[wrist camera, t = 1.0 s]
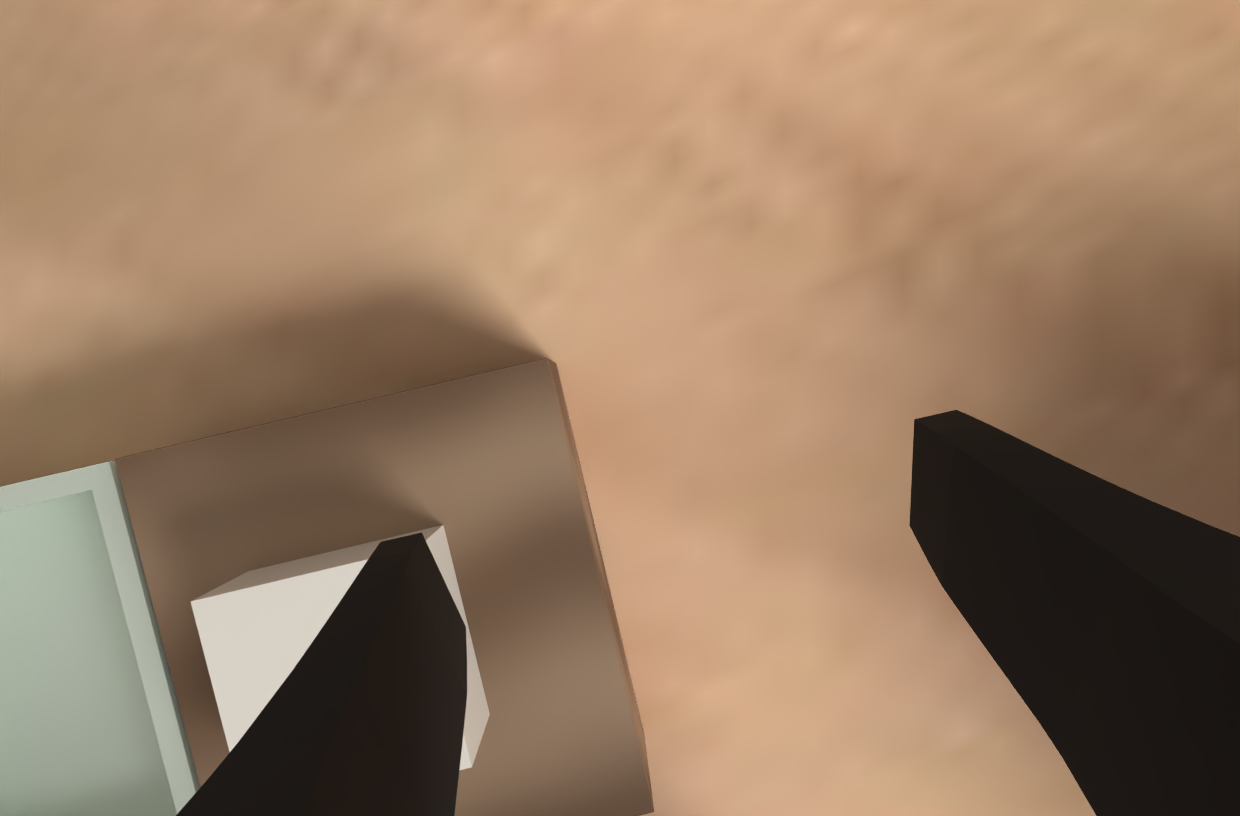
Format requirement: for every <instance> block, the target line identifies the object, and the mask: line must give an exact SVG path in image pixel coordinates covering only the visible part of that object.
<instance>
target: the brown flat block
mask: <svg viewBox="0 0 1240 816" xmlns="http://www.w3.org/2000/svg"><path fill="white" fill-rule="evenodd" d="M115 461H116V465H117V469H118V473H119V477H120V480H121V484H122V488H123V492H124V496H125V500H126V503H127V507H128V511H129V515H130V519H131V523H132V526H133V530H134V534H135V538H136V542H137V545H138V549H139V553H140V557H141V561H142V565H143V568H144V572H145V576H146V580H147V584H148V588H149V591H150V595H151V599H152V603H153V607H154V611H155V614H156V618H157V622H158V626H159V630H160V633H161V637H162V641H163V645H164V649H165V653H166V656H167V660H168V664H169V668H170V672H171V676H172V679H173V683H174V687H175V691H176V695H177V699H178V702H179V706H180V710H181V714H182V718H183V721H184V725H185V729H186V733H187V737H188V741H189V744H190V748H191V752H192V756H193V760H194V764H195V767H196V771H197V775H198V779H199V783H200V787H201V786H202V785H203V784H204V783H205V782H206V781H207V779H208V778H209V777H210V776H211V775H212V773H213V772H214V771H215V770H216V769H217V767H218V766H219V765H220V764H221V763H222V761H223V760H224V759H225V758H226V756H227V755H228V754H229V753H230V752H229V748H228V744H227V740H226V737H225V733H224V729H223V725H222V721H221V717H220V713H219V710H218V706H217V702H216V698H215V694H214V690H213V686H212V683H211V679H210V675H209V671H208V667H207V663H206V659H205V656H204V652H203V648H202V644H201V640H200V636H199V633H198V629H197V625H196V621H195V617H194V613H193V609H192V606H191V601H192V600H194V599H196V598H198V597H200V596H202V595H204V594H206V593H208V592H210V591H212V590H213V589H215V588H217V587H219V586H221V585H223V584H225V583H227V582H229V581H231V580H233V579H234V578H236V577H238V576H240V575H242V574H244V573H246V572H248V571H251V570H255V569H260V568H264V567H268V566H272V565H276V564H281V563H285V562H289V561H293V560H297V559H302V558H306V557H310V556H314V555H318V554H323V553H327V552H331V551H335V550H340V549H344V548H348V547H352V546H356V545H361V544H365V543H369V542H373V541H377V540H382V539H386V538H390V537H394V536H398V535H403V534H407V533H411V532H415V531H419V530H424V529H428V528H432V527H436V526H441V525H444V530H445V534H446V538H447V542H448V546H449V550H450V554H451V558H452V562H453V566H454V570H455V574H456V578H457V583H458V587H459V591H460V595H461V599H462V603H463V607H464V611H465V615H466V619H467V623H468V627H469V632H470V636H471V640H472V644H473V648H474V652H475V656H476V660H477V664H478V668H479V672H480V676H481V680H482V685H483V689H484V693H485V697H486V701H487V705H488V709H489V713H490V715H489V718H488V721H487V724H486V727H485V730H484V733H483V736H482V739H481V742H480V745H479V748H478V751H477V754H476V757H475V760H474V763H473V766H472V767H471V768H467V769H463V770H459V778H458V787H457V796H456V806H455V815H454V816H639V815H643V814H647V813H651V812H654V807H653V799H652V791H651V784H650V776H649V768H648V760H647V752H646V745H645V737H644V732H643V728H642V723H641V719H640V715H639V711H638V706H637V702H636V698H635V694H634V690H633V685H632V681H631V677H630V673H629V669H628V664H627V660H626V656H625V652H624V647H623V643H622V639H621V635H620V631H619V626H618V622H617V618H616V614H615V610H614V605H613V601H612V597H611V593H610V588H609V584H608V580H607V576H606V572H605V567H604V563H603V559H602V555H601V550H600V546H599V542H598V538H597V534H596V529H595V525H594V521H593V517H592V513H591V508H590V504H589V500H588V496H587V491H586V487H585V483H584V479H583V475H582V470H581V466H580V462H579V458H578V454H577V449H576V445H575V441H574V437H573V432H572V428H571V424H570V420H569V416H568V411H567V407H566V403H565V399H564V395H563V390H562V386H561V382H560V378H559V373H558V369H557V365H556V363H554V362H552V361H550V360H549V359H547V358H545V359H541V360H537V361H532V362H528V363H524V364H520V365H515V366H511V367H507V368H502V369H498V370H494V371H490V372H485V373H481V374H477V375H472V376H468V377H464V378H460V379H455V380H451V381H447V382H442V383H438V384H434V385H429V386H425V387H421V388H417V389H412V390H408V391H404V392H399V393H395V394H391V395H387V396H382V397H378V398H374V399H369V400H365V401H361V402H357V403H352V404H348V405H344V406H339V407H335V408H331V409H327V410H322V411H318V412H314V413H309V414H305V415H301V416H297V417H292V418H288V419H284V420H279V421H275V422H271V423H266V424H262V425H258V426H254V427H249V428H245V429H241V430H236V431H232V432H228V433H224V434H219V435H215V436H211V437H206V438H202V439H198V440H194V441H189V442H185V443H181V444H176V445H172V446H168V447H164V448H159V449H155V450H151V451H146V452H142V453H138V454H134V455H129V456H125V457H121V458H116V459H115Z"/></svg>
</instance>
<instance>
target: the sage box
mask: <svg viewBox="0 0 1240 816" xmlns="http://www.w3.org/2000/svg"><path fill="white" fill-rule="evenodd" d="M199 789H200V783H199V779H198V775H197V771H196V767H195V764H194V760H193V756H192V752H191V748H190V744H189V741H188V737H187V733H186V729H185V725H184V721H183V718H182V714H181V710H180V706H179V702H178V699H177V695H176V691H175V687H174V683H173V679H172V676H171V672H170V668H169V664H168V660H167V656H166V653H165V649H164V645H163V641H162V637H161V633H160V630H159V626H158V622H157V618H156V614H155V611H154V607H153V603H152V599H151V595H150V591H149V588H148V584H147V580H146V576H145V572H144V568H143V565H142V561H141V557H140V553H139V549H138V545H137V542H136V538H135V534H134V530H133V526H132V523H131V519H130V515H129V511H128V507H127V503H126V500H125V496H124V492H123V488H122V484H121V480H120V477H119V473H118V469H117V465H116V461H108V462H104V463H100V464H96V465H91V466H87V467H83V468H78V469H74V470H70V471H66V472H61V473H57V474H53V475H48V476H44V477H40V478H36V479H31V480H27V481H23V482H18V483H14V484H10V485H6V486H1V487H0V816H176V815H177V814H178V813H179V811H180V810H181V809H182V808H183V807H184V806H185V805H186V803H187V802H188V801H189V800H190V799H191V798H192V797H193V795H194V794H195V793H196V792H197V791H198V790H199Z"/></svg>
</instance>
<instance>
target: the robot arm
mask: <svg viewBox="0 0 1240 816" xmlns="http://www.w3.org/2000/svg"><path fill="white" fill-rule="evenodd" d="M910 527H911V529H912V531H913V533H914V535H915V537H916V539H917V541H918V542H919V544H920V546H921V548H922V550H923V552H924V554H925V556H926V558H927V560H928V562H929V563H930V565H931V567H932V569H933V571H934V572H935V574H936V576H937V578H938V580H939V581H940V583H941V585H942V587H943V588H944V589H945V591H946V592H947V594H948V595H949V597H950V598H951V600H952V601H953V602H954V604H955V605H956V607H957V608H958V610H959V611H960V612H961V614H962V615H963V617H964V618H965V619H966V621H967V622H968V624H969V625H970V627H971V628H972V629H973V631H974V632H975V634H976V635H977V636H978V638H979V639H980V641H981V642H982V643H983V645H984V646H985V647H986V649H987V650H988V652H989V653H990V654H991V656H992V657H993V659H994V660H995V661H996V663H997V664H998V666H999V667H1000V668H1001V670H1002V671H1003V673H1004V674H1005V675H1006V677H1007V678H1008V679H1009V681H1010V682H1011V684H1012V685H1013V686H1014V688H1015V689H1016V691H1017V692H1018V693H1019V695H1020V696H1021V698H1022V699H1023V700H1024V702H1025V703H1026V705H1027V706H1028V707H1029V709H1030V710H1031V711H1032V713H1033V714H1034V716H1035V717H1036V718H1037V720H1038V721H1039V723H1040V724H1041V726H1042V727H1043V729H1044V730H1045V732H1046V733H1047V735H1048V736H1049V738H1050V739H1051V741H1052V742H1053V744H1054V745H1055V747H1056V748H1057V750H1058V751H1059V753H1060V754H1061V756H1062V758H1063V759H1064V761H1065V763H1066V764H1067V766H1068V768H1069V769H1070V771H1071V773H1072V775H1073V776H1074V778H1075V780H1076V781H1077V783H1078V785H1079V787H1080V788H1081V790H1082V792H1083V793H1084V795H1085V797H1086V798H1087V800H1088V802H1089V804H1090V805H1091V807H1092V809H1093V810H1094V812H1095V814H1096V816H1240V537H1238V536H1236V535H1233V534H1230V533H1228V532H1225V531H1223V530H1220V529H1217V528H1215V527H1212V526H1210V525H1207V524H1205V523H1203V522H1200V521H1198V520H1195V519H1193V518H1191V517H1188V516H1186V515H1183V514H1181V513H1179V512H1176V511H1174V510H1171V509H1169V508H1167V507H1164V506H1162V505H1159V504H1157V503H1155V502H1152V501H1150V500H1148V499H1145V498H1143V497H1141V496H1139V495H1136V494H1134V493H1132V492H1130V491H1127V490H1125V489H1123V488H1121V487H1118V486H1116V485H1114V484H1112V483H1110V482H1107V481H1105V480H1103V479H1101V478H1099V477H1097V476H1095V475H1092V474H1090V473H1088V472H1086V471H1084V470H1082V469H1080V468H1077V467H1075V466H1073V465H1071V464H1069V463H1067V462H1065V461H1063V460H1061V459H1059V458H1057V457H1054V456H1052V455H1050V454H1048V453H1046V452H1044V451H1042V450H1040V449H1038V448H1036V447H1034V446H1032V445H1030V444H1028V443H1026V442H1024V441H1022V440H1020V439H1018V438H1016V437H1013V436H1011V435H1009V434H1007V433H1005V432H1003V431H1001V430H999V429H997V428H995V427H993V426H991V425H989V424H987V423H984V422H982V421H980V420H978V419H976V418H974V417H972V416H969V415H967V414H965V413H962V412H960V411H958V410H954V411H949V412H945V413H941V414H936V415H932V416H928V417H923V418H919V419H915V420H914V441H913V463H912V486H911V508H910ZM466 702H467V643H466V626H465V624H464V622H463V619H462V617H461V615H460V613H459V611H458V609H457V607H456V604H455V602H454V600H453V598H452V596H451V594H450V592H449V589H448V587H447V585H446V583H445V581H444V579H443V577H442V574H441V572H440V570H439V568H438V566H437V564H436V562H435V559H434V557H433V555H432V553H431V551H430V549H429V547H428V544H427V542H426V540H425V538H424V536H423V534H422V532H421V533H417V534H412V535H408V536H404V537H399V538H395V539H391V540H386V541H382V542H380V543H379V545H378V546H377V547H376V549H375V550H374V552H373V553H372V554H371V556H370V557H369V559H368V560H367V562H366V563H365V565H364V566H363V568H362V569H361V571H360V572H359V574H358V575H357V577H356V578H355V580H354V581H353V583H352V584H351V586H350V587H349V589H348V590H347V592H346V593H345V595H344V596H343V598H342V599H341V601H340V602H339V604H338V605H337V607H336V608H335V610H334V611H333V613H332V614H331V616H330V617H329V618H328V620H327V621H326V623H325V624H324V626H323V627H322V629H321V630H320V632H319V633H318V635H317V636H316V637H315V639H314V640H313V642H312V643H311V645H310V646H309V647H308V649H307V650H306V652H305V653H304V655H303V656H302V658H301V659H300V660H299V662H298V663H297V665H296V666H295V668H294V669H293V670H292V672H291V673H290V674H289V676H288V677H287V678H286V680H285V681H284V682H283V684H282V685H281V686H280V688H279V689H278V690H277V691H276V693H275V694H274V695H273V697H272V698H271V699H270V701H269V702H268V703H267V705H266V706H265V707H264V709H263V710H262V711H261V713H260V714H259V715H258V717H257V718H256V719H255V721H254V722H253V723H252V725H251V726H250V727H249V729H248V730H247V731H246V733H245V734H244V735H243V736H242V738H241V739H240V740H239V742H238V743H237V744H236V745H235V747H234V748H233V749H232V750H231V752H230V753H229V754H228V755H227V756H226V758H225V759H224V760H223V761H222V763H221V764H220V765H219V766H218V767H217V769H216V770H215V771H214V772H213V773H212V775H211V776H210V777H209V778H208V779H207V781H206V782H205V783H204V784H203V785H202V786H201V787H200V789H199V790H198V791H197V792H196V793H195V794H194V795H193V797H192V798H191V799H190V800H189V801H188V802H187V803H186V805H185V806H184V807H183V808H182V809H181V810H180V811H179V813H178V814H177V815H176V816H454V815H455V806H456V796H457V787H458V778H459V769H460V760H461V751H462V742H463V732H464V722H465V713H466Z"/></svg>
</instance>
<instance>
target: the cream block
mask: <svg viewBox="0 0 1240 816" xmlns="http://www.w3.org/2000/svg"><path fill="white" fill-rule="evenodd" d="M421 532H422V534H423V536H424V538H425V540H426V542H427V544H428V547H429V549H430V551H431V553H432V555H433V557H434V559H435V562H436V564H437V566H438V568H439V570H440V572H441V574H442V577H443V579H444V581H445V583H446V585H447V587H448V589H449V592H450V594H451V596H452V598H453V600H454V602H455V604H456V607H457V609H458V611H459V613H460V615H461V617H462V619H463V622H464V624H465V626H466V643H467V702H466V713H465V722H464V732H463V742H462V751H461V760H460V769H459V770H463V769H467V768H471V767H472V766H473V763H474V760H475V757H476V754H477V751H478V748H479V745H480V742H481V739H482V736H483V733H484V730H485V727H486V724H487V721H488V718H489V715H490V713H489V709H488V705H487V701H486V697H485V693H484V689H483V685H482V680H481V676H480V672H479V668H478V664H477V660H476V656H475V652H474V648H473V644H472V640H471V636H470V632H469V627H468V623H467V619H466V615H465V611H464V607H463V603H462V599H461V595H460V591H459V587H458V583H457V578H456V574H455V570H454V566H453V562H452V558H451V554H450V550H449V546H448V542H447V538H446V534H445V530H444V525H441V526H436V527H432V528H428V529H424V530H419V531H415V532H411V533H407V534H403V535H398V536H394V537H390V538H386V539H382V540H377V541H373V542H369V543H365V544H361V545H356V546H352V547H348V548H344V549H340V550H335V551H331V552H327V553H323V554H318V555H314V556H310V557H306V558H302V559H297V560H293V561H289V562H285V563H281V564H276V565H272V566H268V567H264V568H260V569H255V570H251V571H248V572H246V573H244V574H242V575H240V576H238V577H236V578H234V579H233V580H231V581H229V582H227V583H225V584H223V585H221V586H219V587H217V588H215V589H213V590H212V591H210V592H208V593H206V594H204V595H202V596H200V597H198V598H196V599H194V600H192V601H191V606H192V609H193V613H194V617H195V621H196V625H197V629H198V633H199V636H200V640H201V644H202V648H203V652H204V656H205V659H206V663H207V667H208V671H209V675H210V679H211V683H212V686H213V690H214V694H215V698H216V702H217V706H218V710H219V713H220V717H221V721H222V725H223V729H224V733H225V737H226V740H227V744H228V748H229V752H231V750H232V749H233V748H234V747H235V745H236V744H237V743H238V742H239V740H240V739H241V738H242V736H243V735H244V734H245V733H246V731H247V730H248V729H249V727H250V726H251V725H252V723H253V722H254V721H255V719H256V718H257V717H258V715H259V714H260V713H261V711H262V710H263V709H264V707H265V706H266V705H267V703H268V702H269V701H270V699H271V698H272V697H273V695H274V694H275V693H276V691H277V690H278V689H279V688H280V686H281V685H282V684H283V682H284V681H285V680H286V678H287V677H288V676H289V674H290V673H291V672H292V670H293V669H294V668H295V666H296V665H297V663H298V662H299V660H300V659H301V658H302V656H303V655H304V653H305V652H306V650H307V649H308V647H309V646H310V645H311V643H312V642H313V640H314V639H315V637H316V636H317V635H318V633H319V632H320V630H321V629H322V627H323V626H324V624H325V623H326V621H327V620H328V618H329V617H330V616H331V614H332V613H333V611H334V610H335V608H336V607H337V605H338V604H339V602H340V601H341V599H342V598H343V596H344V595H345V593H346V592H347V590H348V589H349V587H350V586H351V584H352V583H353V581H354V580H355V578H356V577H357V575H358V574H359V572H360V571H361V569H362V568H363V566H364V565H365V563H366V562H367V560H368V559H369V557H370V556H371V554H372V553H373V552H374V550H375V549H376V547H377V546H378V545H379V543H380V542H382V541H386V540H391V539H395V538H399V537H404V536H408V535H412V534H417V533H421Z"/></svg>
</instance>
